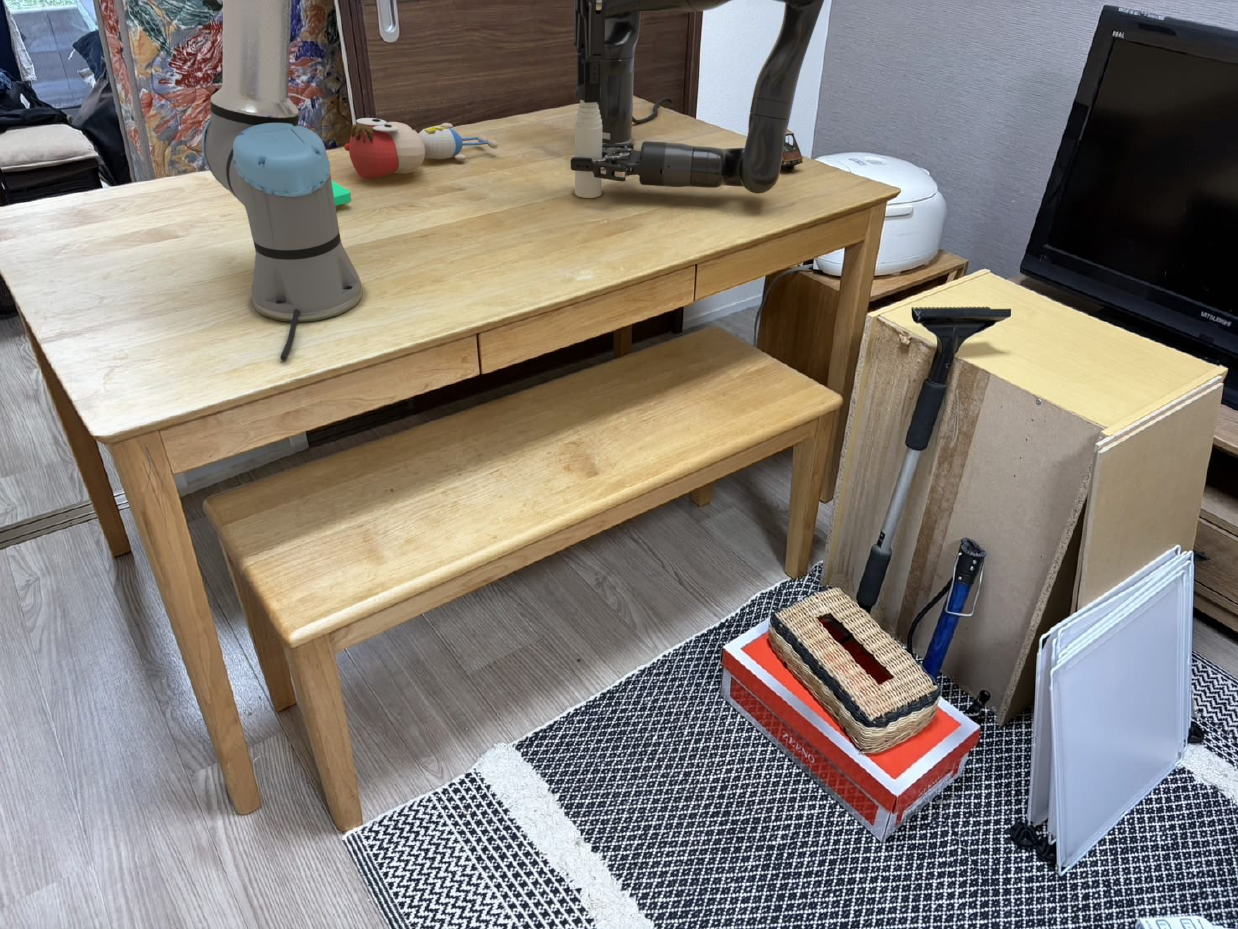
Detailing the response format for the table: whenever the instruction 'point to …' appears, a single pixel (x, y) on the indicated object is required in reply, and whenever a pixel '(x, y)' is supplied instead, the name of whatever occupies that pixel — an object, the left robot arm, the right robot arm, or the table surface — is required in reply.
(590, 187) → the bottle
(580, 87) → the cap
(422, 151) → the toy
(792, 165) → the toy car
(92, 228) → the table surface
